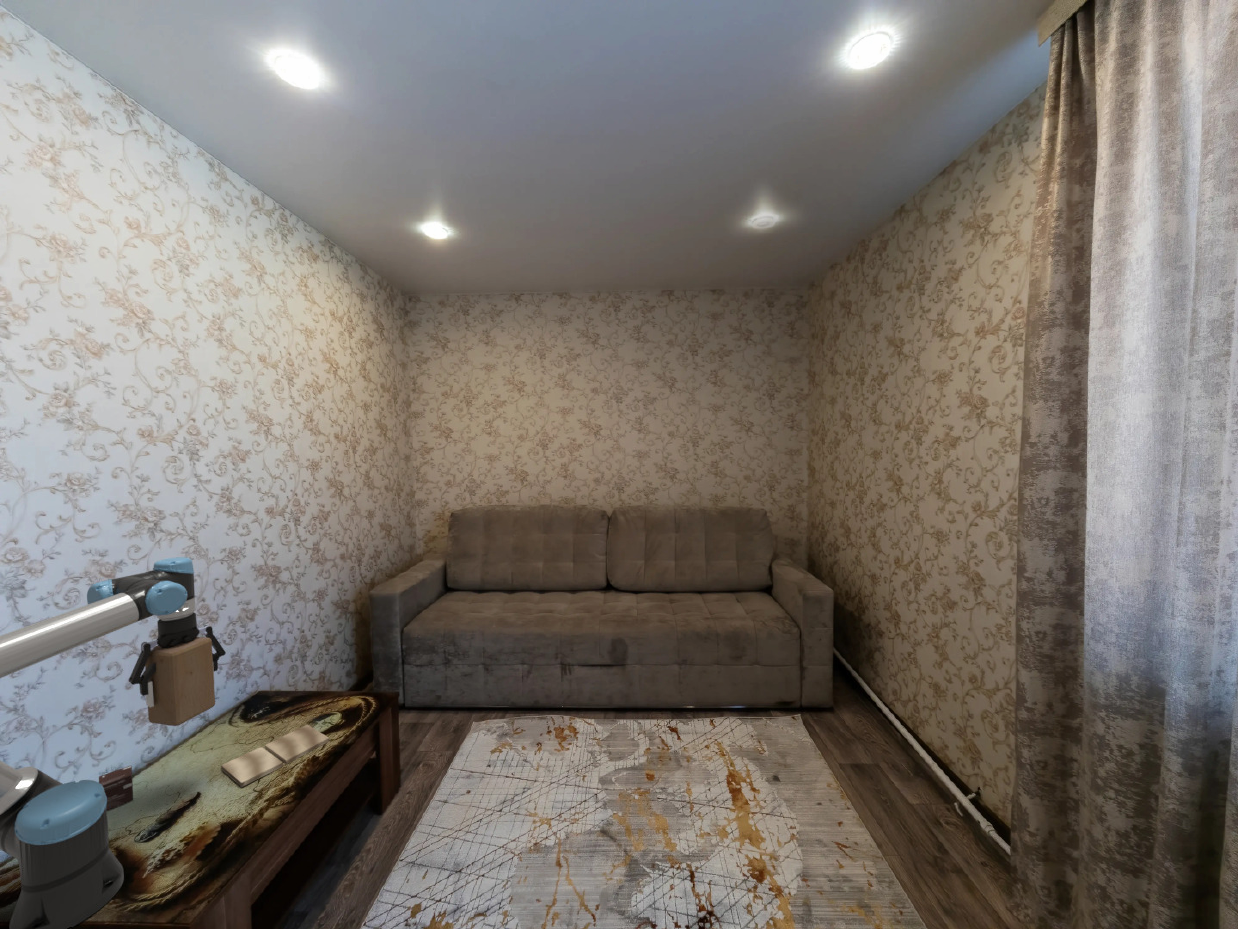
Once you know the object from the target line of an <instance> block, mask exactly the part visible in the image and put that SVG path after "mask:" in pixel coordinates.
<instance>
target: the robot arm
mask: <svg viewBox="0 0 1238 929" xmlns="http://www.w3.org/2000/svg"><path fill="white" fill-rule="evenodd" d="M195 593H196V592H195V570H194V564H193V560H192V558H189V557H185V556H180V557H179V556H178V557H170V558H169V557H168V558H163V559H161V560H157V561H156V562H154V563H153V568H152V569H151V570H149V571H146V572H140V573H136V574H131V575H126V576H122V577H116V578H108V579H107V580H103V581H99V582H96V583H93V584H92V585H91V586H90V587H89V588H88V590H87V592H86V601H87V604H86V605H83V606H80V607H77V608H74V609H72V610H69V611H66V612H63V613H61V614H58V615H55V616H52V617H50V618H47V619H43V620H40V621H39V622H35V623H33V624H30V625H27V626H24V627H22V628H19V629H16V630H13V631H10V632H8V633H4V634H1V635H0V679H1V678H5V677H7V676H9V675H11V674H14V673H16V672H20V671H21V670H23V669H26V668H29V667H31V666H33V665H36V664H38V663H41V662H43V661H45V660H48V659H50V658H53V657H56V656H58V655H60V654H62V653H65V652H67V651H70V650H72V649H75V648H77V647H79V646H82V645H85V644H86V643H89V642H92V641H94V640H96V639H99V638H101V637H104V636H107V635H109V634H111V633H113V632H116V631H118V630H120V629H123V628H126V627H128V626H131V625H133V624H136V623H138V622H140V621H143V620H146V619H148V618H150V617H152V616H156V618H157V619H158V620H157V621H156V622H157V638H156V640H152V641H149V642H147V641H143V642H142V643H141V644H140V645H141V646H140V651H141V652H140V653H139V654H138V655H139V656H138V658H137V660H136V661H135V665H134V667H133V669H132V671H131V674H130V676H129V678H128V682H129V683H130V684H131V685H138V684H139V693H140V695H141V696H143V697H144V696H145V701H146V706H147V707H148V706H149V707H153V706H154V699H153V684H152V681H151V680H149V679H150V678H151V677H152V675H153V674H154V672H155V671H156V662H155V663H153V664H151V665H149V666H148V667H147V669H146V670H145V665H146V662H147V660H148V658H149V656H150V652H151V650H153V649H154V647H155V646H158V645H159V646H160V647H162V648H166V649H167V648H171V647H174V646H175V645H178V644H182V643H185V642H191V641H195V639H196V637H199V634H201V635H203V636H205V638H210V639H211V640H212V649H214V651H215V652H214V653H213V652H212V657H213V674H214V675H215V672H217V671H218V669H219V667H218V666H219V664H218V663H219V659H220V658H221V657H224V656H225V655H226V653H227V652H226V651H225V649H224V648H223V646H222V645H221V643H220V642H219V640H218V639H217V638H216V636H215V634H214V632H213V627H212V626H210V625H209V624H205V625H203V626H202V627H199V628H198V627H197V626H198V624H197V622H198V621H197V613H195V611H196V609H197V607H196V596H195V595H196V594H195ZM215 684H216V683H215V682H214V685H215ZM106 804H107V796H106V794H105V792H104V788H103V786H102V785H101V784H100V783H99V781H96V780H92V779H81V780H79V781H78V782H76V781H68V782H66V783H62V782H60V781H58V780H56V779H54V778H53V777H52V776H50V775H48V774H46V773H44V772H43V771H41V770H40V769H37V768H36V767H34V766H25V767H21V768H18V769H16V768H14V767H13V766H11V765H9V764H8V763H6V762H3V761H2V760H0V851H2V852H3V853H6V854H7V855H9V856H11V857H13V858H15V859H16V860H17V861H18V866H19V867H18V868H19V876H20V877H19V879H20V886H21V888H20V889H21V891H20V894H19V897H18V899H17V902H16V905H15V907H14V910H13V913H12V916H11V918H10V921H9V929H67V928H69V927H72V928H74V927H76V926H77V925H79V924H80V923H82V922H84V921H85V920H87V919H88V918H90V917H92V915H95V913H97V912H98V911H99V910H101V909H102V908H103V907H104V906H106V905H107V904H108V903H109V902H110V901H111V900H112V899H113V897H115V896H116V895H117V893H118V892H119V891H120V889H121V888H122V885H123V883H124V880H125V878H124V877H125V876H124V867H123V865H122V863H120V861H119V860H118V858H117V857H116V855H115V854H114V853H113V851H112V850H111V849H110V843H109V824H108V811H107V807H106Z"/></svg>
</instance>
